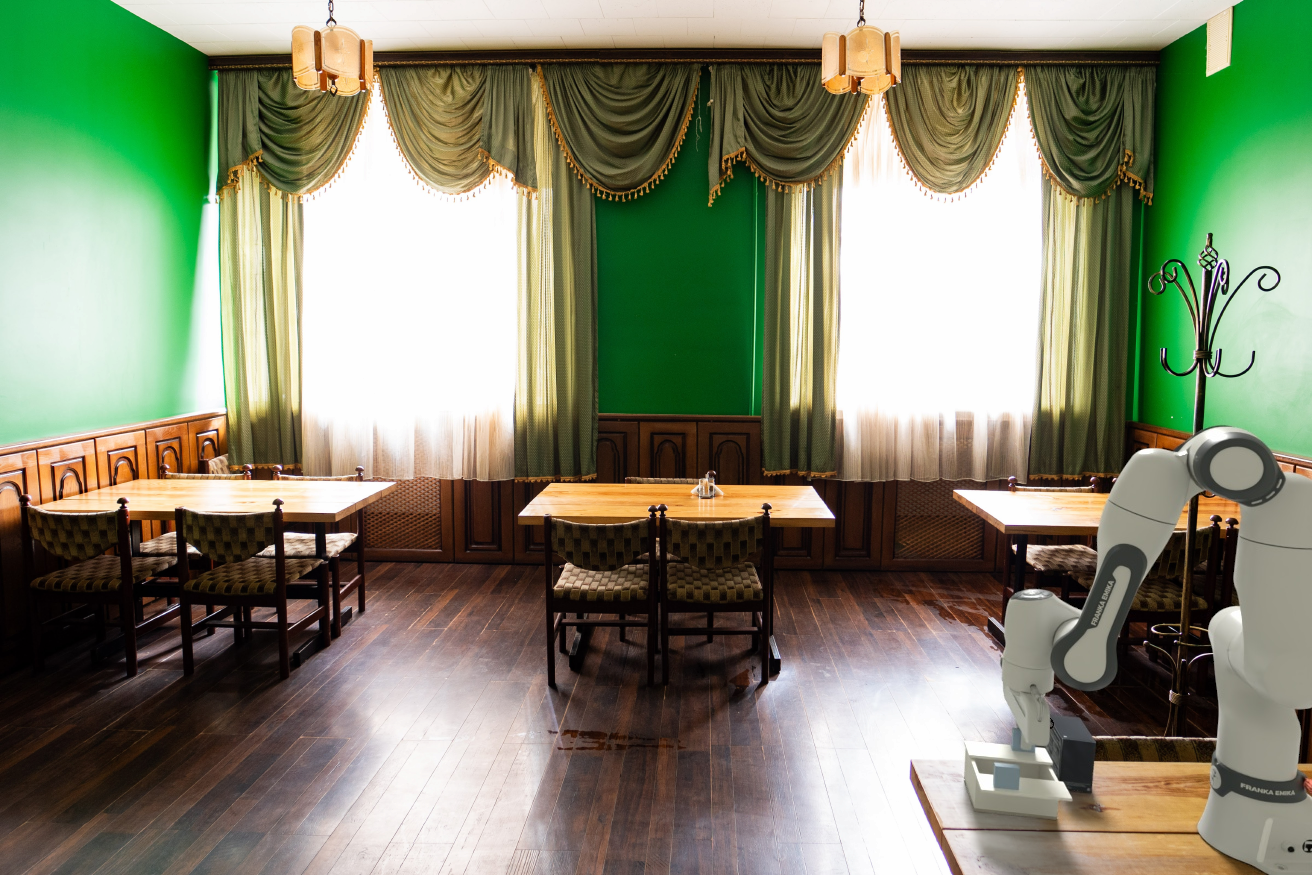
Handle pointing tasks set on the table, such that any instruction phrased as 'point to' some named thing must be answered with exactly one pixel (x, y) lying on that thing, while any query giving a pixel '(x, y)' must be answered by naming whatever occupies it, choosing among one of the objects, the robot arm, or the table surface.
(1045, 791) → the lid panel near
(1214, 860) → the table surface
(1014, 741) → the lid panel far
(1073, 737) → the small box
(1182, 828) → the table surface
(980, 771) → the carton
